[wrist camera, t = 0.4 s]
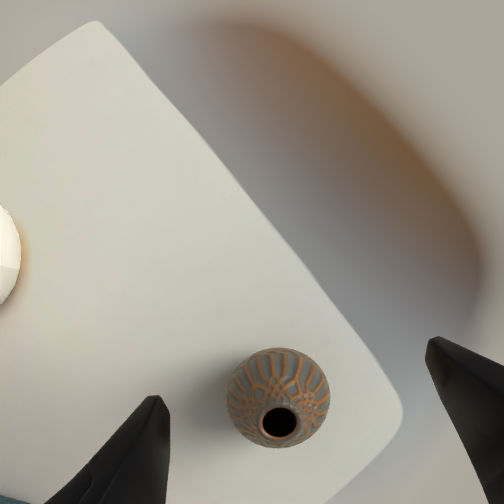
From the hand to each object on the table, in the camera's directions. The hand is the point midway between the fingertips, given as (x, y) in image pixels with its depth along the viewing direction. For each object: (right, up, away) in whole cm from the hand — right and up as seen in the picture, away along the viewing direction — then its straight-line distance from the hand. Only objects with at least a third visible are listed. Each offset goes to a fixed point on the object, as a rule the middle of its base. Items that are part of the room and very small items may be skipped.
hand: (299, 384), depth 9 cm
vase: (+1, -6, +14) cm, 16 cm away
